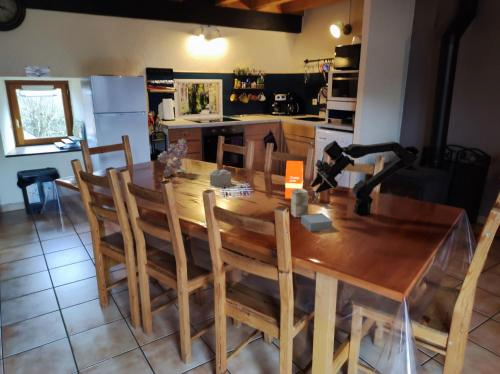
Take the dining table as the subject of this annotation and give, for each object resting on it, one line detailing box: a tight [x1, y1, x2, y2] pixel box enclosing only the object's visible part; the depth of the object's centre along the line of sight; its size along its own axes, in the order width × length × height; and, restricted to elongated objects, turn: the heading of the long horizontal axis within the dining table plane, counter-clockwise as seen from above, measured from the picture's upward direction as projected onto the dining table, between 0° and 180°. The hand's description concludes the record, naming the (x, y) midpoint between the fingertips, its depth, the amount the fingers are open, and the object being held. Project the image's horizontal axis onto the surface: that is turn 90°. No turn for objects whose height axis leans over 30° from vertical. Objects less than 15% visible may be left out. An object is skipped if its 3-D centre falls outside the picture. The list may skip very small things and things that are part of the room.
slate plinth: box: [300, 212, 333, 233], centre depth 160 cm, size 10×10×4 cm
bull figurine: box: [305, 186, 321, 205], centre depth 191 cm, size 4×13×8 cm, turn 15°
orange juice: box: [284, 160, 304, 200], centre depth 199 cm, size 8×9×20 cm
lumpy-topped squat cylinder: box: [209, 168, 232, 187], centre depth 227 cm, size 10×13×9 cm
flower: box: [157, 136, 189, 177], centre depth 252 cm, size 20×22×25 cm
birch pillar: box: [290, 188, 309, 218], centre depth 173 cm, size 6×6×12 cm
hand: (313, 189), depth 171 cm, fingers open, 9 cm apart
